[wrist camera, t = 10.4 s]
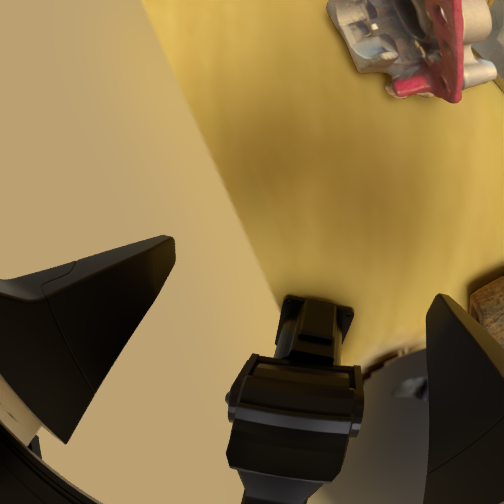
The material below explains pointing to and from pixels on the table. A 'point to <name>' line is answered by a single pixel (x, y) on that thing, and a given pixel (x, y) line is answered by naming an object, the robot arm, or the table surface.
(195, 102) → the table surface
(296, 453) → the robot arm
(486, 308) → the wooden log
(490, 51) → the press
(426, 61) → the brake caliper
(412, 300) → the table surface
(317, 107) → the table surface
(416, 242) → the table surface
